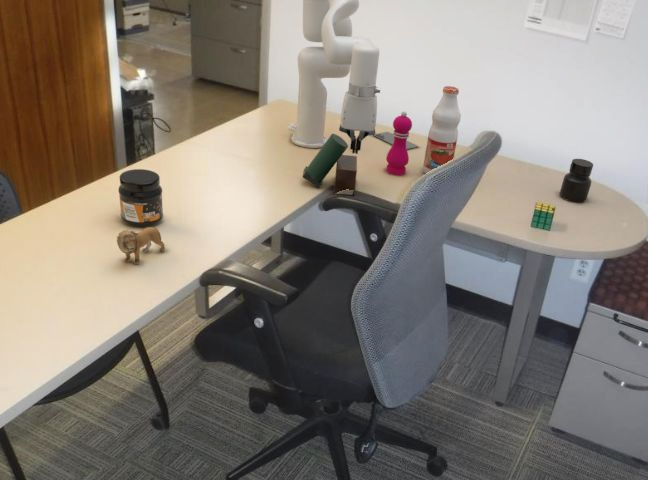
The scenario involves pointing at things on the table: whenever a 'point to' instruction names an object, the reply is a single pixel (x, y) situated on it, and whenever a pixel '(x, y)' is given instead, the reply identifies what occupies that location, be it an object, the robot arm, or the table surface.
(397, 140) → the pepper mill
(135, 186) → the supplement container
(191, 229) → the table surface
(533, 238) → the table surface
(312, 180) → the green tube
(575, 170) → the ink bottle
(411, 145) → the smartphone
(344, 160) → the walnut block
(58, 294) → the table surface
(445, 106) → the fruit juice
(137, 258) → the lion figurine
